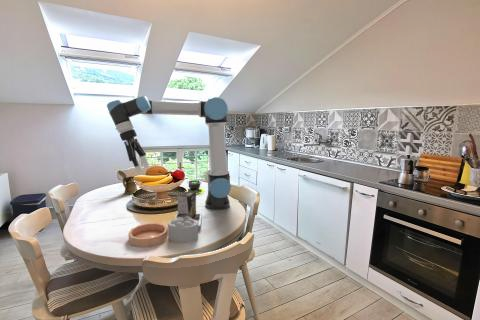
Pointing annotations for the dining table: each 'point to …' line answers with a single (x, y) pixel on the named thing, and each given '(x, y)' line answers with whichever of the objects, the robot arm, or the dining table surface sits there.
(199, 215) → the parts tray
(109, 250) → the dining table surface
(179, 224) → the lumpy-topped squat cylinder
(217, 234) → the dining table surface
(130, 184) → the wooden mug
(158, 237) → the bowl
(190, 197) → the coffee box
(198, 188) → the toy cauldron
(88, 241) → the dining table surface
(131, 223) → the dining table surface
